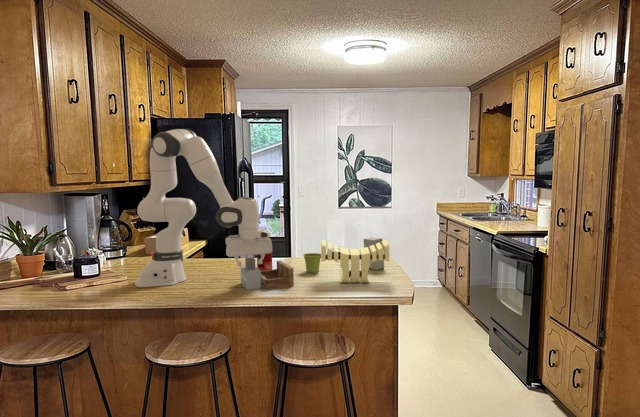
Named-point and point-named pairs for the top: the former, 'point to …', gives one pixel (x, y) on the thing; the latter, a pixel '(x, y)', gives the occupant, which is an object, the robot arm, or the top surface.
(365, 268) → the slatted curved stool
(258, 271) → the cabinet block
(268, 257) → the canned food
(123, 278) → the top surface
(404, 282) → the top surface
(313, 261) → the plant pot
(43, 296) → the top surface
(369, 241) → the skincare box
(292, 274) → the brown wooden frame
